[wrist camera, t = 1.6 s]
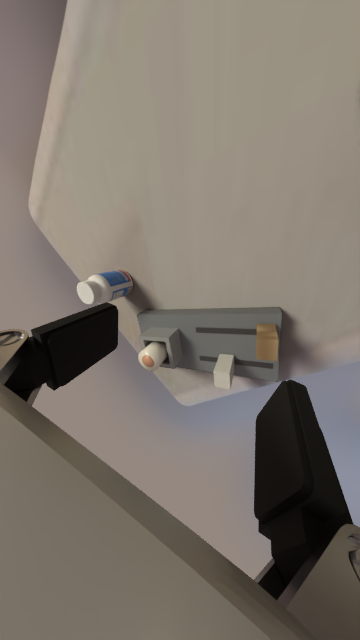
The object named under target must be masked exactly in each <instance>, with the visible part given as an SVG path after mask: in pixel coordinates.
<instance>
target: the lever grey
mask: <svg viewBox="0 0 360 640" xmlns="http://www.w3.org/2000/svg"><path fill="white" fill-rule="evenodd" d="M213 373H214V382H215V387H219V388H225V389H231V384H232V379H233V374H234V355H228V354H220V355H219V357H218V360H217V363H216V366H215V368H214V371H213Z"/></svg>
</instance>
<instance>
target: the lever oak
mask: <svg viewBox="0 0 360 640" xmlns="http://www.w3.org/2000/svg"><path fill="white" fill-rule="evenodd" d="M277 358H278V335H277V331H276V326H275V324H257V336H256V359H260V360H270V361H277Z"/></svg>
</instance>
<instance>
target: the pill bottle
mask: <svg viewBox="0 0 360 640" xmlns="http://www.w3.org/2000/svg"><path fill="white" fill-rule="evenodd" d="M132 288H133V282H132V279H131V277H130V275H129V274H128V273H127V272H125V271H123V270H117V271H112V272H106V273H101V274H96V275H92V276H90V277H89V279H88V280H87V281H83V282H80V283H79V284H78V285H77V292H78V295H79V297H80V299H81V300H82V301H83V302H84V303H86V304H93V303H96V302H98V303H106V302H109V301H112V300H114V299H117V298H120V297H122V296H125V295H127V294H129V293H130V292H131V291H132Z"/></svg>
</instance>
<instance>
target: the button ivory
mask: <svg viewBox="0 0 360 640" xmlns="http://www.w3.org/2000/svg"><path fill="white" fill-rule="evenodd" d="M167 356H168V352H167V347H166V344H165V343H164V342H162V341H153V342H151V343H150V344H149V345H148V346H147V347H146V348H145V349H144V350H142V351H141V352H140V353H139V356H138V357H139V362H140V363H141V365H142V366H143V367H144V368H145V369H147V370H150V371H154V370H156V369H157V368H158V367H159V366H160V364H161V363H162V362H163V361H164V360H165V359H166V357H167Z"/></svg>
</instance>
